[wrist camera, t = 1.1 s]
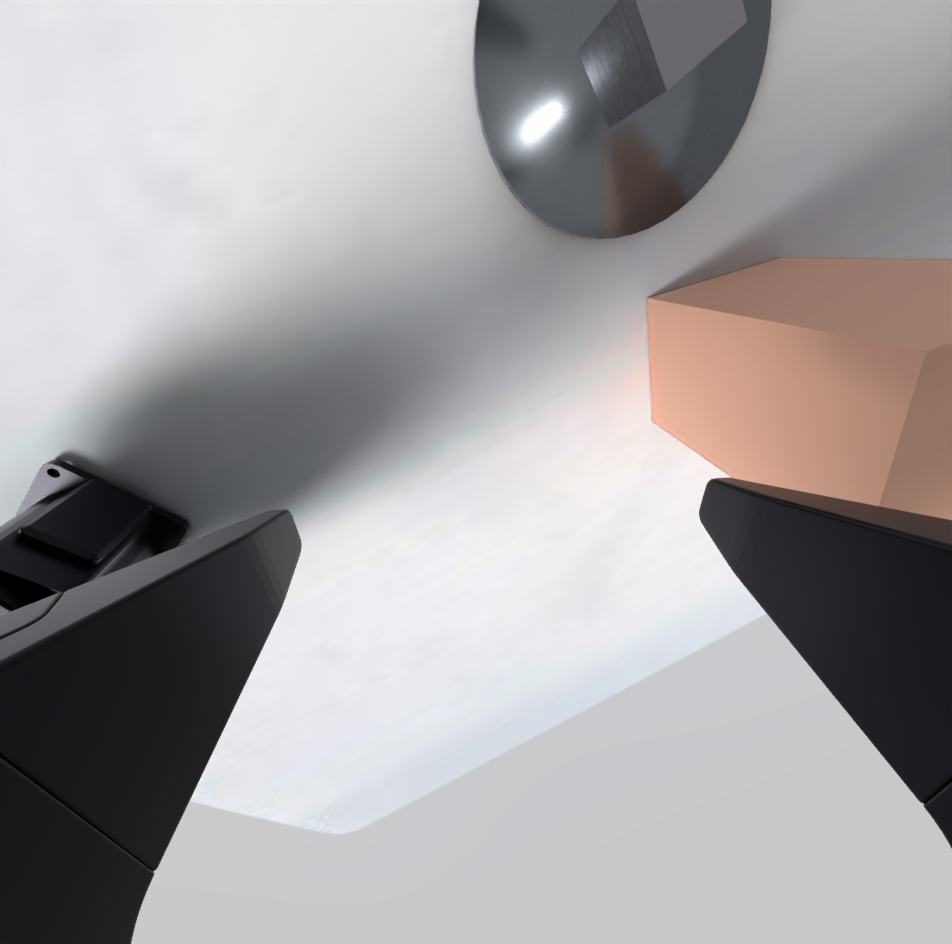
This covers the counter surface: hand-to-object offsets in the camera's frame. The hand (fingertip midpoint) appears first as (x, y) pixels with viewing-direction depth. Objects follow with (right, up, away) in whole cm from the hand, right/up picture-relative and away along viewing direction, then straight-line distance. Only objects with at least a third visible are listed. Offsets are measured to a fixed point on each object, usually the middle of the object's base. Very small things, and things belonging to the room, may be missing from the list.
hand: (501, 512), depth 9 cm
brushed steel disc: (+5, +16, +6) cm, 18 cm away
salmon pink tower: (+12, +7, +12) cm, 18 cm away
